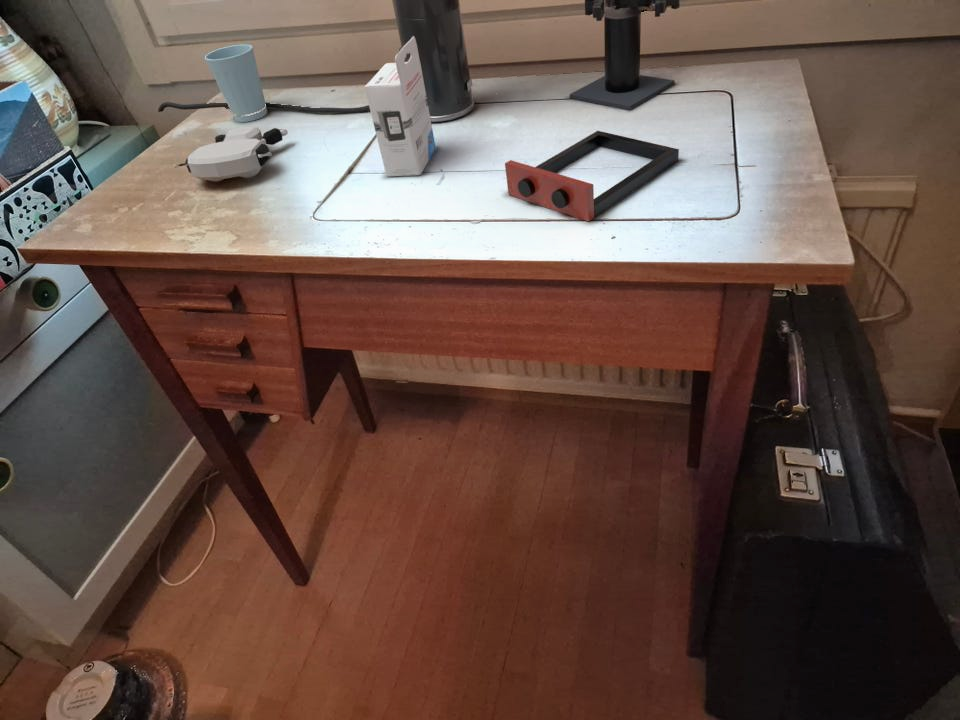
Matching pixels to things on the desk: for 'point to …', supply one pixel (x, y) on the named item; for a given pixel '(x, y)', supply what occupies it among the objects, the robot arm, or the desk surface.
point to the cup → (238, 80)
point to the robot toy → (233, 154)
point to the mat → (622, 100)
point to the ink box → (401, 114)
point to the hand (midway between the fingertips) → (627, 11)
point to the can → (622, 50)
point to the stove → (577, 194)
